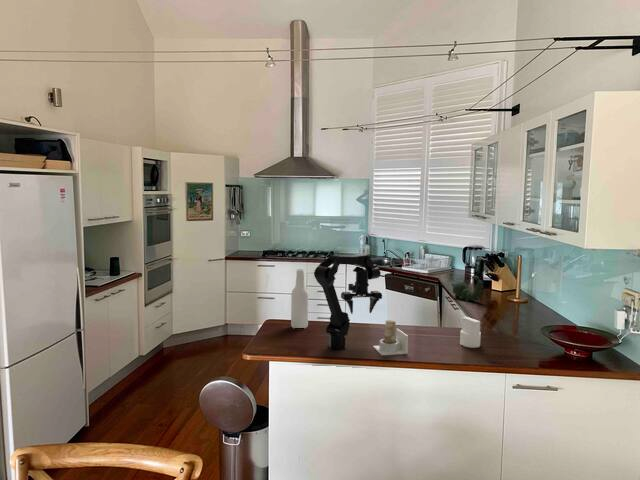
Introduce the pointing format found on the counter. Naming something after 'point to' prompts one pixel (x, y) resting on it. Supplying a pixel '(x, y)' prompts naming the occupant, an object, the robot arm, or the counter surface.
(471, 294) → the toy figurine
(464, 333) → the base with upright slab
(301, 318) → the alcohol
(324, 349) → the counter surface
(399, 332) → the cup bracket
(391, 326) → the maple rail post
